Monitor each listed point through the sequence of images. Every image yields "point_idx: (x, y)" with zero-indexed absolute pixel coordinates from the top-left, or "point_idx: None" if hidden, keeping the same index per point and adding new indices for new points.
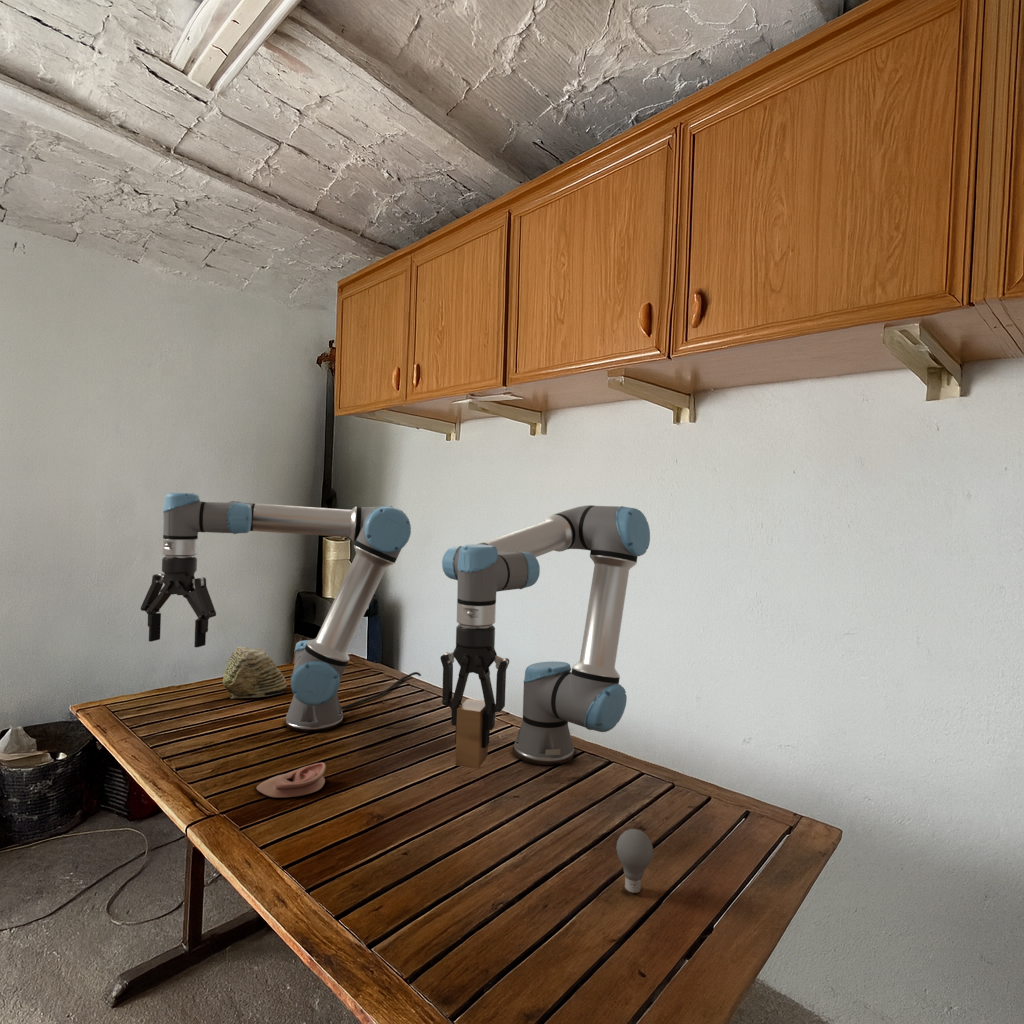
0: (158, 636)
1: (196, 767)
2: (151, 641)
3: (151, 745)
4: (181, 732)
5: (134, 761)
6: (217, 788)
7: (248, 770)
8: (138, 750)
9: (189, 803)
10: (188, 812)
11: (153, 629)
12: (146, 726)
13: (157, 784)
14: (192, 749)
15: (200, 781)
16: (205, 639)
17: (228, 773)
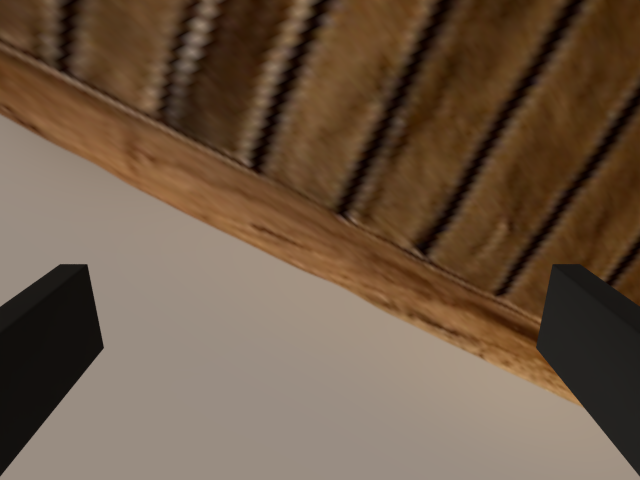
0: (76, 296)
1: (459, 225)
2: (101, 343)
3: (241, 157)
4: (235, 34)
5: (290, 252)
6: None
7: (598, 193)
8: (240, 197)
9: None
10: None
11: (40, 396)
12: (88, 35)
13: (436, 321)
14: (369, 136)
15: (517, 280)
16: (609, 286)
17: (557, 225)
